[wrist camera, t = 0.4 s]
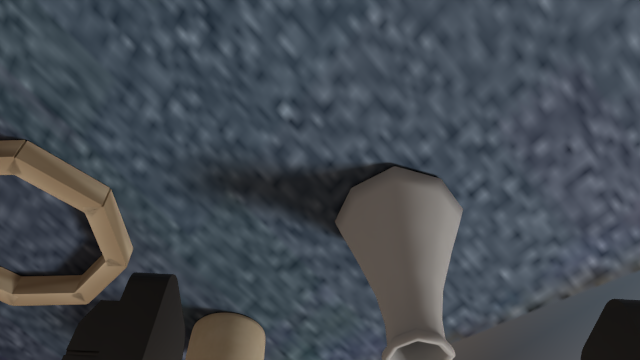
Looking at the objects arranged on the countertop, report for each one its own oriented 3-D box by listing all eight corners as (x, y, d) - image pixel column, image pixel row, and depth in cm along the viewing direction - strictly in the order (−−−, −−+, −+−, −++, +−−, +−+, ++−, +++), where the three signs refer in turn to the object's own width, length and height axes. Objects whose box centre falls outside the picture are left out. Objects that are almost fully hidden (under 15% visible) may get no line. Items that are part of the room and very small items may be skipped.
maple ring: (-131, 144, 31) (-149, 161, 30) (92, 137, 30) (82, 154, 29) (-31, 289, 39) (-42, 306, 38) (147, 285, 38) (141, 303, 37)
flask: (313, 220, 34) (310, 366, 27) (392, 144, 31) (415, 289, 23) (401, 268, 37) (421, 413, 29) (483, 204, 33) (531, 351, 26)
